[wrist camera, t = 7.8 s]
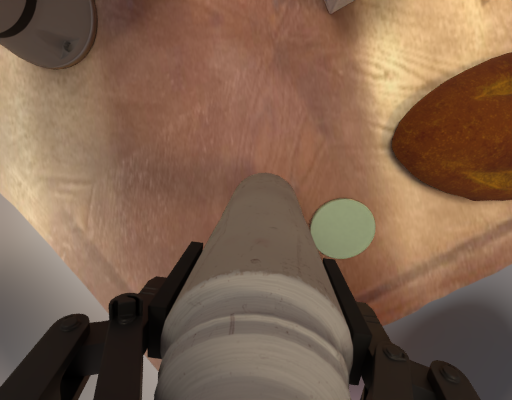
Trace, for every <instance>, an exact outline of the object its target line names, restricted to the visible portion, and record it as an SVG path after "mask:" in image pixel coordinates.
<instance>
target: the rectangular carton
mask: <svg viewBox="0 0 512 400" xmlns="http://www.w3.org/2000/svg"><path fill="white" fill-rule="evenodd" d="M324 1H325V4H326V6H327V9H328V11H329V13H330V14H332V13H333V12H335V11H337V10H339V9H340V8H342V7H344V6H346V5H347V4H349V3H351V2H353V1H354V0H324Z"/></svg>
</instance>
